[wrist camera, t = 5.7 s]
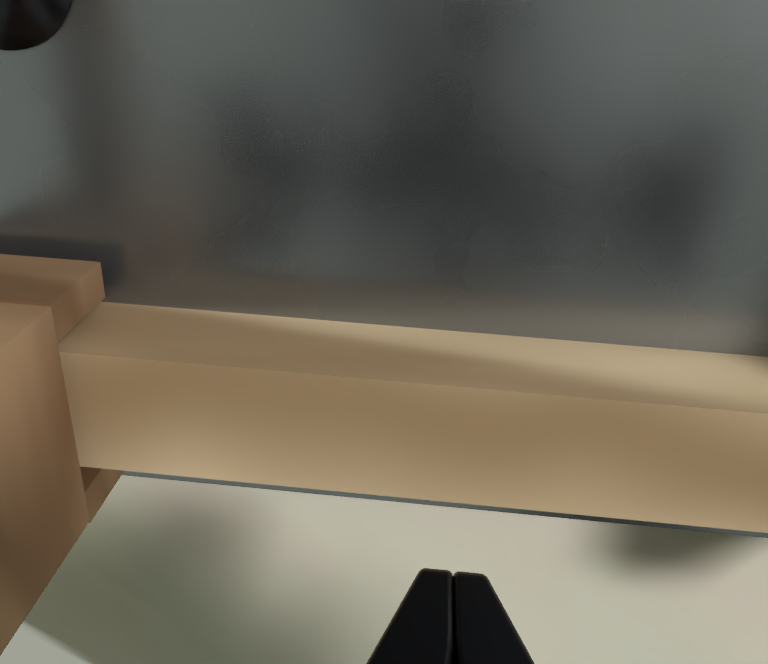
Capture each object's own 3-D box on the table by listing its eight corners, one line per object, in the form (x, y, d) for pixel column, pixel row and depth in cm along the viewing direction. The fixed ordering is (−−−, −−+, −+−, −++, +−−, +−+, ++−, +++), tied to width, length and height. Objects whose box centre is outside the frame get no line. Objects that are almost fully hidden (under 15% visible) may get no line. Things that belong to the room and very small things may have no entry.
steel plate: (954, 525, 16) (987, 561, 15) (-21, 432, 17) (-49, 460, 16) (1518, -534, 8) (1654, -598, 7) (-270, -553, 10) (-349, -609, 9)
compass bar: (1001, 529, 14) (1134, 667, 12) (-55, 428, 16) (-168, 530, 13) (1341, -64, 10) (1706, -76, 7) (-213, -138, 11) (-448, -174, 8)
